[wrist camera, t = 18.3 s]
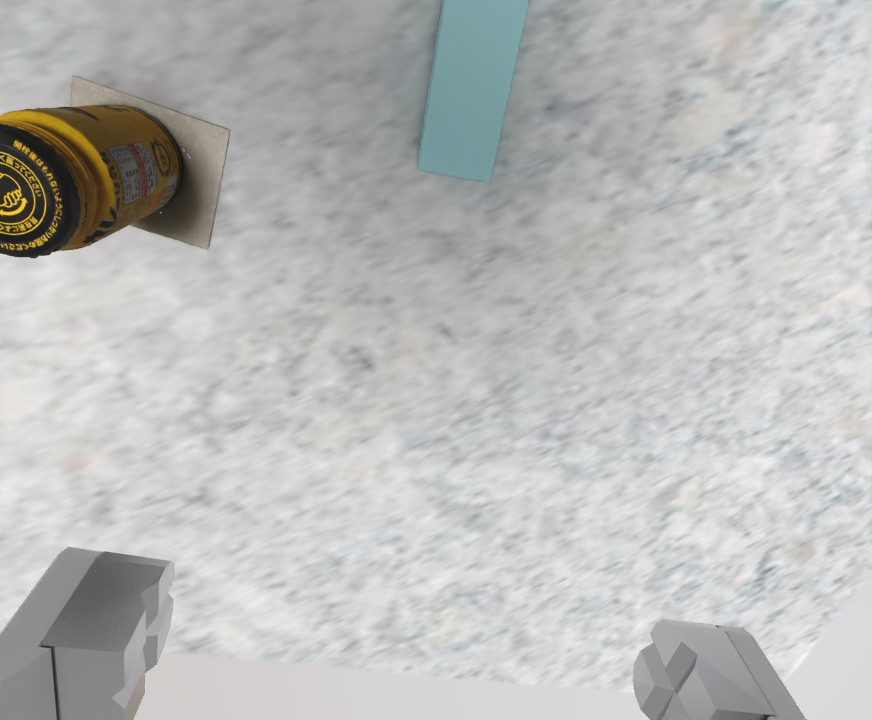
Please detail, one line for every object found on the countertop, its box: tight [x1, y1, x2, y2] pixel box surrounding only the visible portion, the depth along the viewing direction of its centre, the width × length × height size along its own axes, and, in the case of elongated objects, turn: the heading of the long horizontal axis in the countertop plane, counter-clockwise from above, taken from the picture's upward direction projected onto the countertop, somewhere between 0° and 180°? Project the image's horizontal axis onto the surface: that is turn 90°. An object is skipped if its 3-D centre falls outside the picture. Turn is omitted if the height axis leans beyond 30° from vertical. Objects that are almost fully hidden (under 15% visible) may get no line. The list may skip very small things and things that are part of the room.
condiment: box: [0, 76, 230, 258], centre depth 28 cm, size 7×8×12 cm
